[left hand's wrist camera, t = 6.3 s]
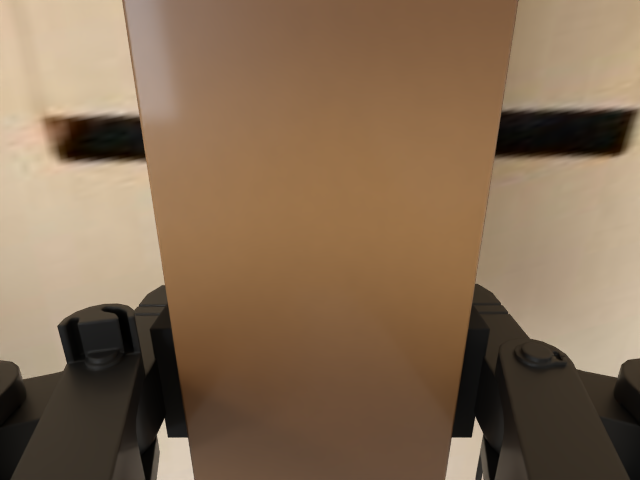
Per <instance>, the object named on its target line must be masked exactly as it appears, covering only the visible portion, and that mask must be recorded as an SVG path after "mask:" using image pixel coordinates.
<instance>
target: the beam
mask: <svg viewBox="0 0 640 480" xmlns="http://www.w3.org/2000/svg"><path fill="white" fill-rule="evenodd" d="M122 2H123V8H124V15H125V22H126V28H127V35H128V42H129V48H130V55H131V62H132V68H133V75H134V82H135V88H136V95H137V101H138V108H139V115H140V121H141V128H142V135H143V141H144V148H145V155H146V161H147V168H148V174H149V181H150V188H151V194H152V201H153V208H154V214H155V221H156V228H157V234H158V241H159V248H160V254H161V261H162V267H163V274H164V281H165V287H166V294H167V301H168V307H169V314H170V321H171V327H172V334H173V340H174V347H175V354H176V360H177V367H178V374H179V380H180V387H181V394H182V400H183V407H184V414H185V420H186V427H187V433H188V440H189V447H190V453H191V460H192V467H193V473H194V480H445V477H446V471H447V464H448V458H449V451H450V445H451V438H452V432H453V425H454V418H455V412H456V405H457V399H458V392H459V386H460V379H461V373H462V366H463V359H464V353H465V346H466V340H467V333H468V327H469V320H470V314H471V307H472V300H473V294H474V287H475V281H476V274H477V268H478V261H479V255H480V248H481V242H482V235H483V228H484V222H485V215H486V209H487V202H488V196H489V189H490V183H491V176H492V169H493V163H494V156H495V150H496V143H497V137H498V130H499V124H500V117H501V110H502V104H503V97H504V91H505V84H506V78H507V71H508V65H509V58H510V52H511V45H512V38H513V32H514V25H515V19H516V12H517V6H518V0H122Z"/></svg>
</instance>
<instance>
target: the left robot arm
mask: <svg viewBox="0 0 640 480" xmlns="http://www.w3.org/2000/svg"><path fill="white" fill-rule="evenodd" d="M58 330H59V334H60V338H61V342H62V346H63V349H64V353H65V357H66V361H67V365H66V367H65V369H64V371H62V372H58V373H54V374H49V375H44V376H39V377H34V378H29V379H24V380H23V379H22V376H21V373H20V370H19V367H18V366H17V365H16V364H14V363H13V362H9V361H1V360H0V480H156V479H157V471H158V463H159V454H160V452H159V445H158V439H157V433H158V431H159V429H160V427H161V424H162V422H163V420H164V418H165V422H166V428H167V434H168V437H188V433H187V427H186V420H185V414H184V407H183V400H182V394H181V387H180V380H179V374H178V367H177V360H176V354H175V347H174V340H173V334H172V327H171V321H170V314H169V307H168V301H167V294H166V287H165V285H162V286H160V287H159V288H157V289H155V290H154V291H152V292H151V293H149V294H147V296H146V297H145V298H144V299H143V301H142V302H141V303H140V304H139V307H137V308H136V309H135V310H133V309H132V308H130V307H129V306H127V305H122V304H102V305H97V306H92V307H88V308H86V309H83V310H80V311H77V312H75V313H73V314H72V315H70V316H68V317H66V318H65V319H64V320H63V321H62V322H61V323H60V324H59V325H58ZM475 417H476V419H477V421H478V423H479V425H480V427H481V429H482V432H483V439H482V445H481V450H480V456H479V461H478V467H477V472H476V479H475V480H481V478H482V473H483V478H484V480H640V358H639V359H632V360H627V361H626V362H625V363H623V364H622V365H621V368H620V372H619V375H618V378H616V377H611V376H606V375H600V374H595V373H590V372H585V371H581V370H577V369H576V368H575V366H574V364H573V362H572V361H571V360H570V359H569V357H568V356H567V355H566V354H565V353H563V352H562V351H560V350H559V349H557V348H556V347H554V346H552V345H549V344H547V343H544V342H542V341H538V340H533V339H530V338H529V337H528V336H527V335H526V333H525V332H524V331H523V330H522V329H521V327H520V326H519V325H518V324H517V322H516V321H515V320H514V319H513V318H512V316H511V315H510V314H508V311H507V310H506V309H505V308H504V307H503V305H501V303H500V302H499V300H498V299H497V298H496V297H495V296H494V294H493V293H492V292H490V291H488V290H487V289H485V288H483V287H482V286H480V285H478V284H475V287H474V294H473V300H472V307H471V314H470V320H469V327H468V333H467V340H466V346H465V353H464V359H463V366H462V373H461V379H460V386H459V392H458V399H457V405H456V412H455V418H454V425H453V432H452V437H472V432H473V427H474V421H475Z"/></svg>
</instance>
